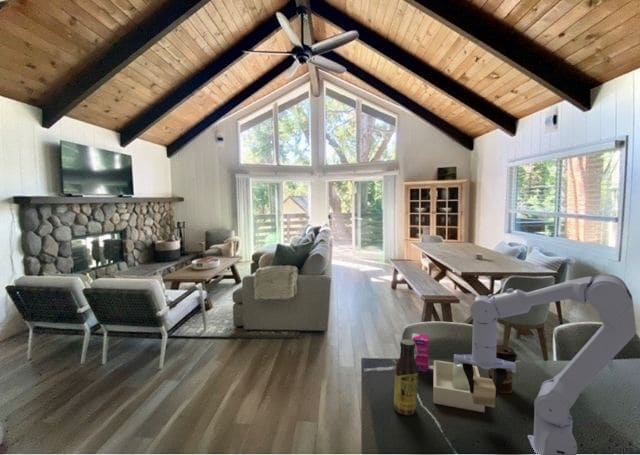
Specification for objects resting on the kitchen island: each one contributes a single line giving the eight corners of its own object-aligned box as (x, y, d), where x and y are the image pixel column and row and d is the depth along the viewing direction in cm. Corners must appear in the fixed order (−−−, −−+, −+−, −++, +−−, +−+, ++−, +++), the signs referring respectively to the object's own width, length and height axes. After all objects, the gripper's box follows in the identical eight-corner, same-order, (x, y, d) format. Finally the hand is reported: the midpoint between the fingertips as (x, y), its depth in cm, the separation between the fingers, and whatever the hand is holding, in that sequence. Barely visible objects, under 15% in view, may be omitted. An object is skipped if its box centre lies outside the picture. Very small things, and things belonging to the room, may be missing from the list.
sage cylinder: (471, 391, 101) (473, 370, 100) (454, 390, 101) (456, 368, 100) (465, 382, 105) (467, 362, 105) (449, 381, 106) (451, 360, 105)
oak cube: (494, 407, 83) (495, 388, 83) (473, 403, 85) (474, 385, 85) (491, 396, 88) (492, 379, 88) (471, 393, 90) (472, 375, 89)
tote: (484, 412, 91) (485, 395, 91) (433, 403, 96) (433, 386, 95) (476, 380, 108) (477, 366, 108) (433, 374, 112) (433, 360, 112)
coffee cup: (521, 398, 98) (522, 356, 97) (491, 395, 100) (492, 354, 99) (510, 382, 106) (511, 344, 106) (482, 380, 108) (483, 342, 107)
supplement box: (410, 370, 115) (411, 338, 114) (411, 362, 121) (411, 332, 120) (428, 372, 113) (428, 340, 112) (427, 364, 119) (428, 334, 118)
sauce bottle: (400, 418, 89) (401, 348, 88) (389, 405, 95) (390, 339, 94) (421, 414, 91) (422, 345, 89) (409, 401, 97) (410, 336, 95)
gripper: (455, 345, 84) (454, 396, 85) (519, 353, 79) (517, 407, 80) (453, 335, 91) (452, 382, 91) (513, 342, 86) (511, 391, 87)
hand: (483, 393), depth 86 cm, fingers closed on oak cube, 5 cm apart
